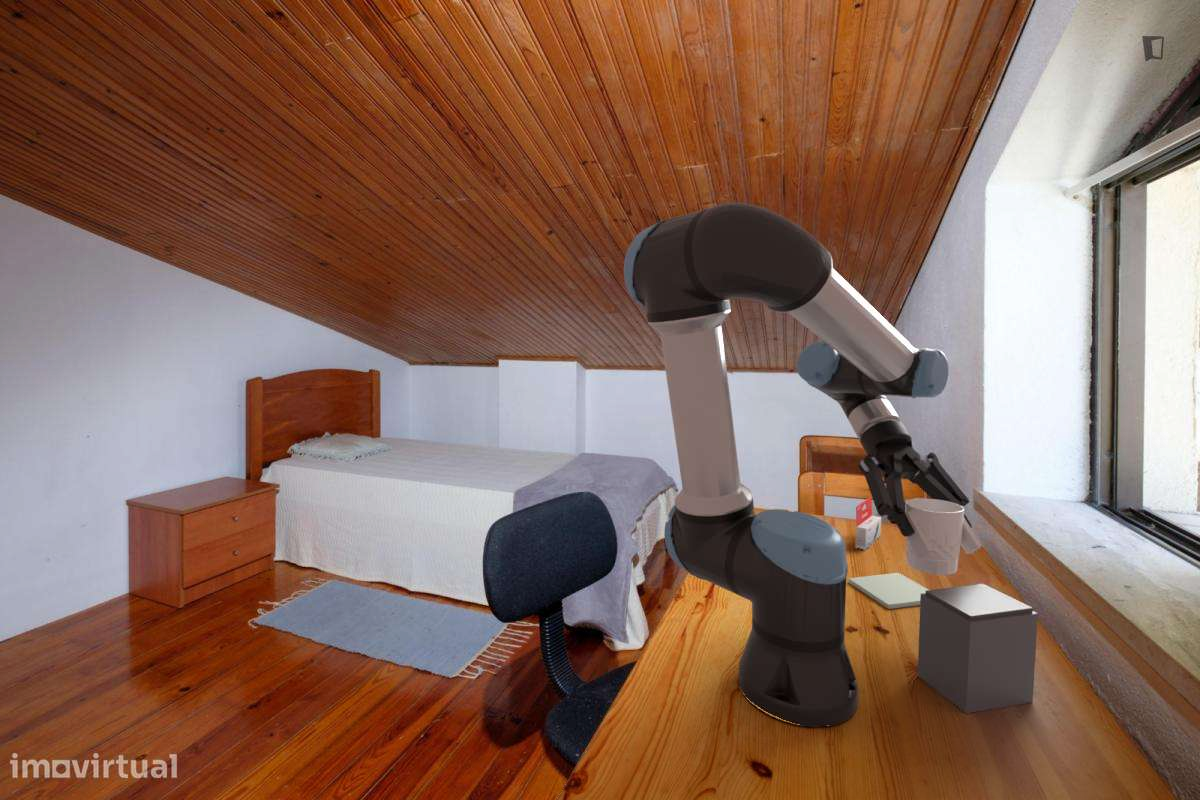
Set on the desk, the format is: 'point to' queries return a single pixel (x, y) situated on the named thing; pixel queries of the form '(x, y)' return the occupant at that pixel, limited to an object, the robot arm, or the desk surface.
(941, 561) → the white cup
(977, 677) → the block
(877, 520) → the ink cartridge box
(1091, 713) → the desk surface
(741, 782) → the desk surface
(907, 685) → the desk surface
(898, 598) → the coaster
